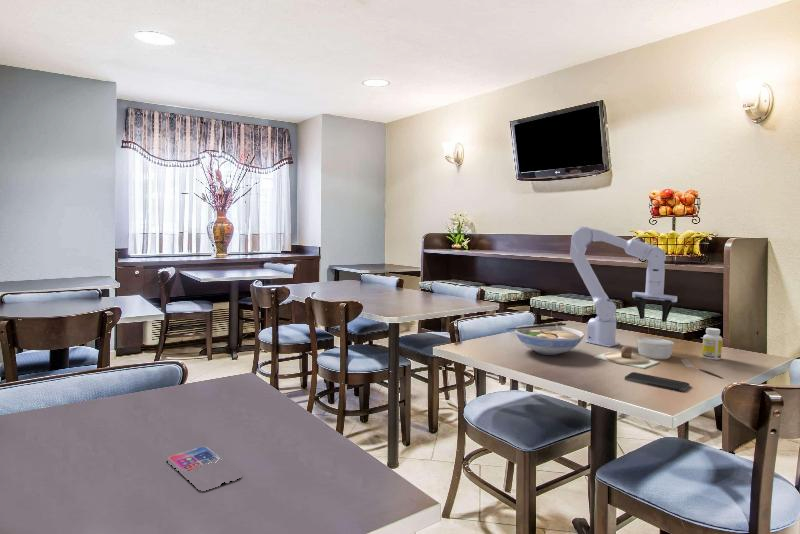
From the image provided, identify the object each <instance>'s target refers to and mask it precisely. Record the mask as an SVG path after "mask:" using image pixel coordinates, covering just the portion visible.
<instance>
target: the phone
mask: <svg viewBox="0 0 800 534" xmlns="http://www.w3.org/2000/svg"><path fill="white" fill-rule="evenodd" d="M624 380H625V381H627V382H632V383H635V384H641V385H646V386H648V387H649V386H650V387H655V388H660V389H664V390H668V389H669V390H668V391H673V390H674V392H679V393H684V392H685V391H687V390H688V389H689V388H690V383H689V382H685V381H680V380H675V379H671V378H666V377H659V376H656V375H650V374H646V373H641V372H636V371H635V372H634V371H632V372H630V373H628V374H626V375H625V376H624Z"/></svg>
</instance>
